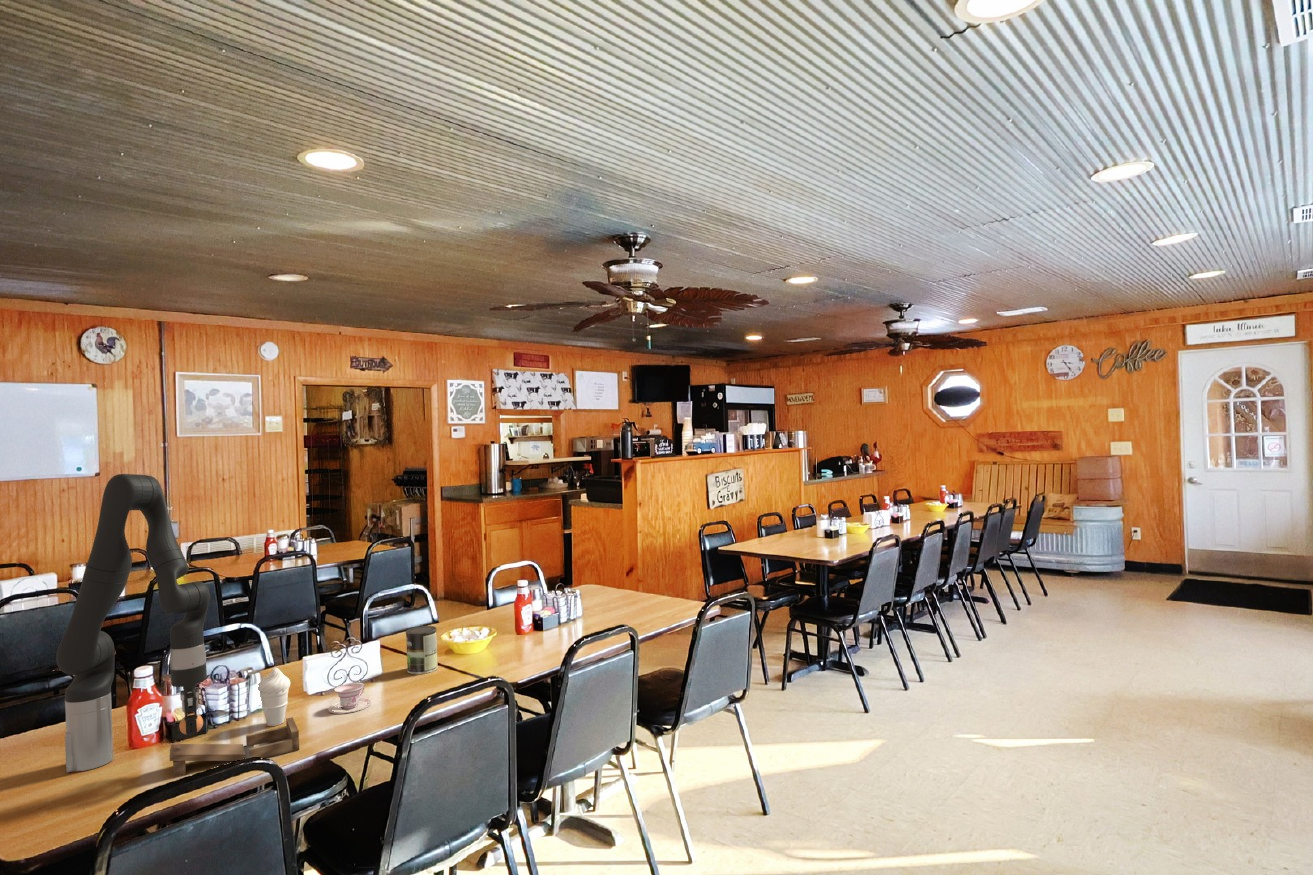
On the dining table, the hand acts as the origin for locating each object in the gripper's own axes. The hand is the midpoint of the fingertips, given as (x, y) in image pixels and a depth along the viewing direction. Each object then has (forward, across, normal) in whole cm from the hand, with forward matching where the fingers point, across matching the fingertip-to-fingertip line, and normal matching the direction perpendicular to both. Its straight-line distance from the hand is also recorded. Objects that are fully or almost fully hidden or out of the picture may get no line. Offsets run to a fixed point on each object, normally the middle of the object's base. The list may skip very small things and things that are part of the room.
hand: (191, 731), depth 181 cm
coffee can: (+9, +42, -68) cm, 81 cm away
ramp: (+9, 0, -3) cm, 9 cm away
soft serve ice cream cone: (+9, +19, -20) cm, 29 cm away
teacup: (+9, +20, -40) cm, 46 cm away
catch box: (+9, 0, -17) cm, 19 cm away
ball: (-2, 0, 0) cm, 2 cm away
